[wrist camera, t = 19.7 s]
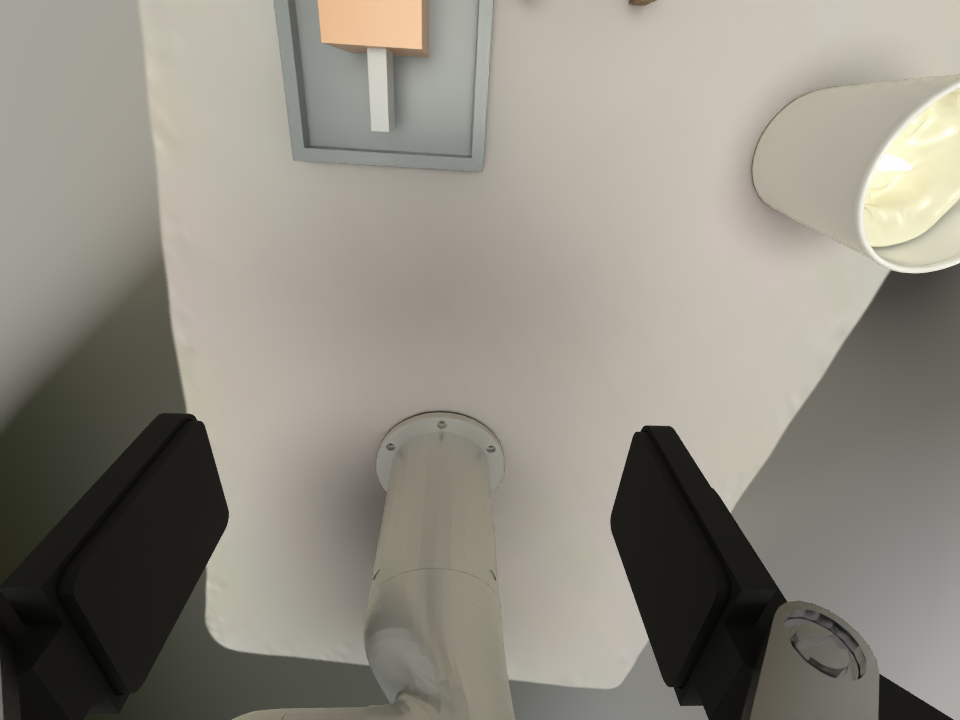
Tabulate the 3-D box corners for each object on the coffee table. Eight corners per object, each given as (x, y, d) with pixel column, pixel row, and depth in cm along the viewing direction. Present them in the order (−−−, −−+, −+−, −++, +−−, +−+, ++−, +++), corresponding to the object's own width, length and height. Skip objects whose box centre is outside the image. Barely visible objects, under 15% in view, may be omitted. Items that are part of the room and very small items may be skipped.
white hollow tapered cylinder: (822, 41, 31) (1006, 17, 21) (908, 130, 34) (1107, 149, 24) (712, 175, 35) (819, 212, 24) (797, 245, 38) (926, 304, 27)
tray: (481, 167, 34) (482, 171, 32) (301, 156, 33) (293, 160, 31) (500, -158, 26) (503, -176, 24) (263, -184, 25) (248, -204, 23)
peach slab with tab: (428, 127, 32) (422, 136, 26) (354, 123, 32) (329, 130, 26) (429, -90, 27) (420, -143, 21) (339, -98, 26) (303, -154, 20)
